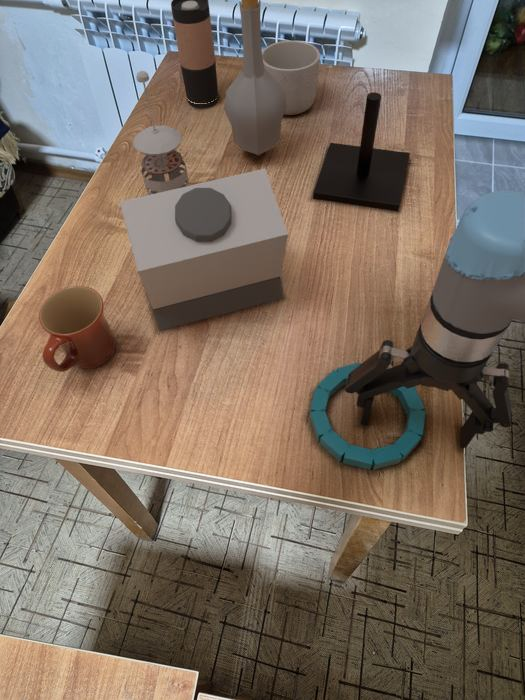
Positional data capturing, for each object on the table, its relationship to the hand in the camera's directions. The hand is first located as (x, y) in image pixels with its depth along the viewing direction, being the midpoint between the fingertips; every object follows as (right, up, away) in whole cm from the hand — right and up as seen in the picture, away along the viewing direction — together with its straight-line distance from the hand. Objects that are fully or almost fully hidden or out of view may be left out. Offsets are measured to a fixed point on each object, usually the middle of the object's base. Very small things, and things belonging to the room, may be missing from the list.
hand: (413, 427), depth 69 cm
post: (-1, +44, +30) cm, 53 cm away
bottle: (-21, +51, +36) cm, 66 cm away
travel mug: (-34, +68, +48) cm, 90 cm away
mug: (-47, +9, +9) cm, 48 cm away
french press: (-38, +39, +29) cm, 61 cm away
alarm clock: (-29, +20, +16) cm, 38 cm away
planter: (-14, +65, +46) cm, 81 cm away
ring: (-6, +1, +1) cm, 6 cm away
